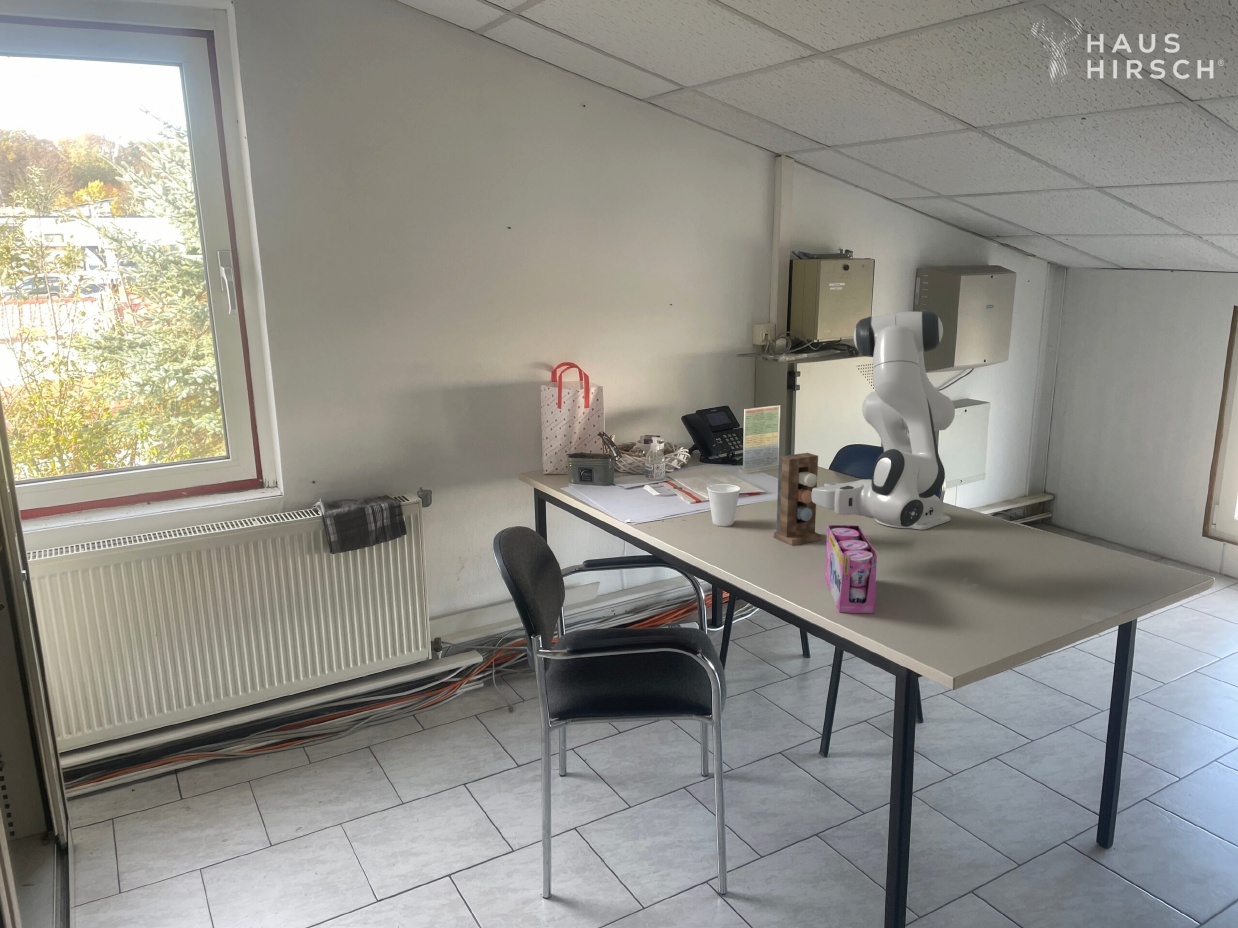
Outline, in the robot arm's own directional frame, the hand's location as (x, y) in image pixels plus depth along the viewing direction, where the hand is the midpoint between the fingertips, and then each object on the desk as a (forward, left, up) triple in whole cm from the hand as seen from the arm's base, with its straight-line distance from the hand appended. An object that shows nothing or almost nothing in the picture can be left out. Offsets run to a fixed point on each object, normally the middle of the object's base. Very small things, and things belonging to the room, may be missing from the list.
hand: (828, 485), depth 228 cm
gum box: (+16, +27, -18) cm, 37 cm away
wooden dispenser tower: (0, -12, -18) cm, 21 cm away
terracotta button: (0, -10, -7) cm, 12 cm away
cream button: (0, -9, -2) cm, 9 cm away
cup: (+10, -34, -18) cm, 40 cm away
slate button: (0, -10, -12) cm, 15 cm away
